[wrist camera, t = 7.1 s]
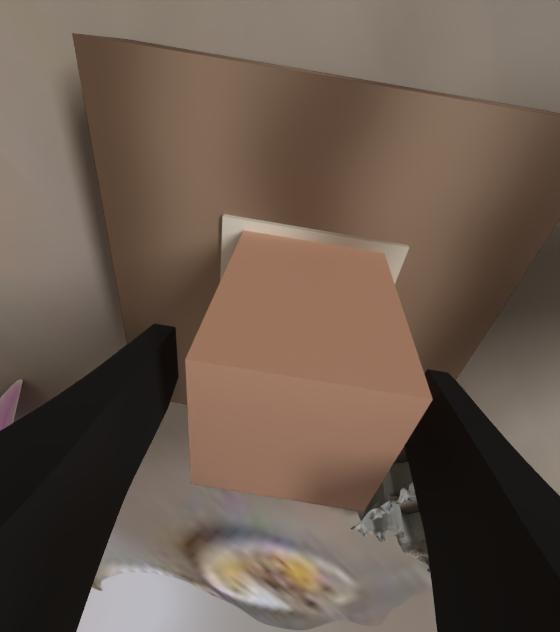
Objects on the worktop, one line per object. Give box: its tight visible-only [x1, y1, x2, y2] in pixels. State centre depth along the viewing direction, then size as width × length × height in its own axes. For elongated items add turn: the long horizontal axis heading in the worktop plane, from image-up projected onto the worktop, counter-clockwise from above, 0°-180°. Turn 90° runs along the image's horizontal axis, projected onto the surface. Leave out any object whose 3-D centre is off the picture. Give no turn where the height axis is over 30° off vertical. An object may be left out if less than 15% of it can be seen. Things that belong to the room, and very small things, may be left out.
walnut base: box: [72, 33, 560, 404], centre depth 14 cm, size 14×14×3 cm
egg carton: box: [351, 461, 430, 572], centre depth 23 cm, size 11×8×4 cm
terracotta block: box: [185, 230, 433, 512], centre depth 10 cm, size 5×5×6 cm
